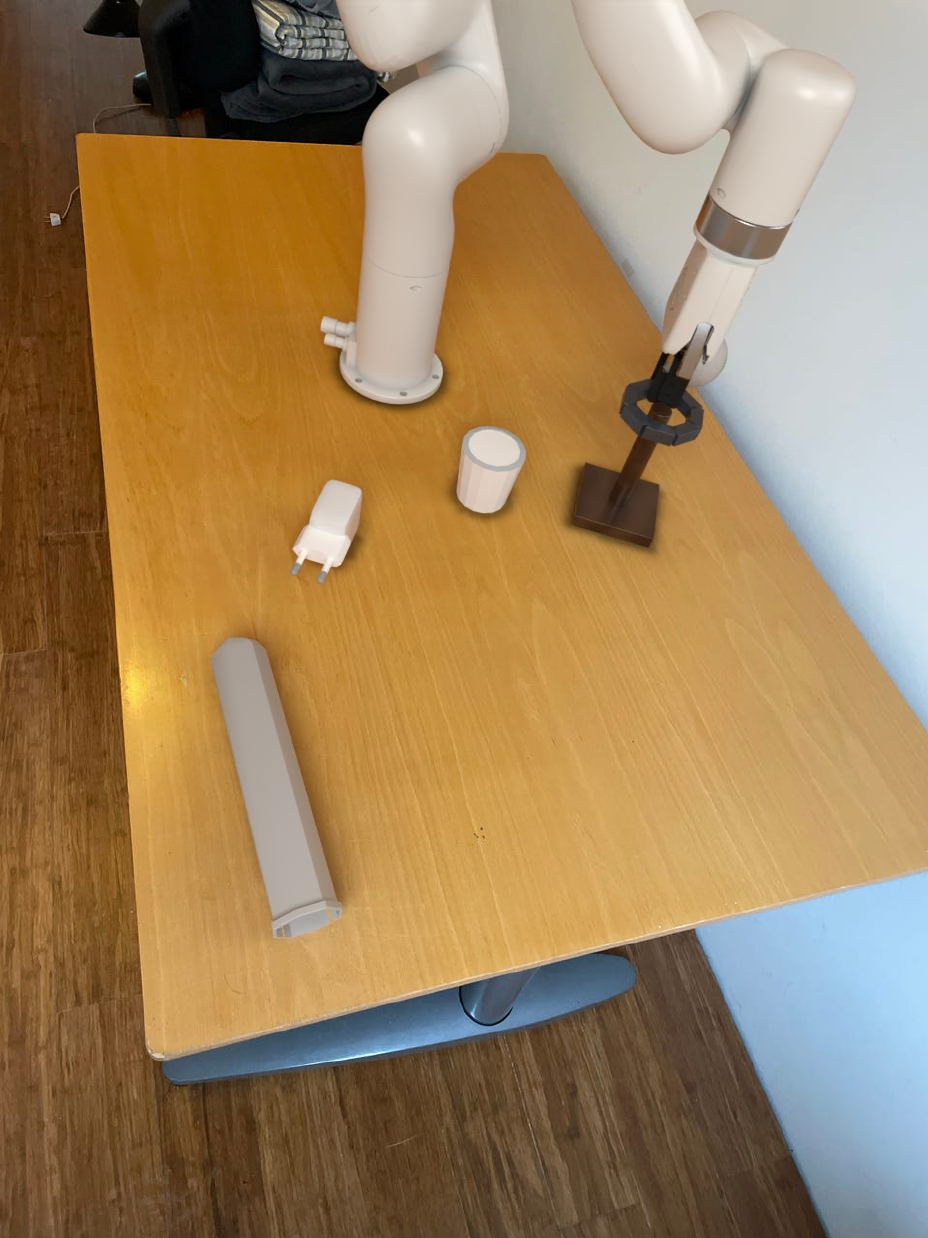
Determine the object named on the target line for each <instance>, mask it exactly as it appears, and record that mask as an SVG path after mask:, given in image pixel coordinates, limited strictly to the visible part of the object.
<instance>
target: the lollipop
mask: <svg viewBox="0 0 928 1238" xmlns="http://www.w3.org/2000/svg"><path fill="white" fill-rule="evenodd" d="M728 353H729V351H728V344H727V340H726V337H725V338H724V340H723V342H722V344H721V346H720V348H719V350H718V352H717V353H716V355H715V357H714V358H713V360H712V361H711V362H710V363H708V364H706V365H703V362H702V358H703V355H702V357H701V359H700V361H699V363H698V365H697V367H696V369H695V371H694V373H693V375H692V377H691V380H690V382H689V384H688V386H687V388H700V387H704V386H706V385H709V383H712V382H713V381H714V380H716V379H717V378H718V377H719V376H720V374H721V373H722V371H723V370H724V368H725V366H726V364H727V360H728V356H729V355H728ZM671 410H672V411H673V409H671Z"/></svg>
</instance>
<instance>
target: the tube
mask: <svg viewBox="0 0 928 1238" xmlns="http://www.w3.org/2000/svg"><path fill="white" fill-rule="evenodd" d="M210 660H211V661H210V663H211V670H212V675H213V678H214V684H215V687H216V691H217V695H218V700H219V704H220V708H221V712H222V716H223V720H224V721H223V722H224V725H225V730H226V733H227V737H228V741H229V745H230V750H231V755H232V758H233V763H234V767H235V771H236V775H237V779H238V783H239V788H240V791H241V796H242V800H243V804H244V808H245V812H246V817H247V821H248V825H249V830H250V833H251V837H252V843H253V846H254V851H255V854H256V859H257V863H258V866H259V870H260V875H261V879H262V883H263V887H264V892H265V896H266V900H267V904H268V909H269V913H270V917H271V922H270V928H271V930H270V931H271V937H272V939H281V940H283V939H285V940H292V939H294V938H295V939H296V938H299V937H301V936H304V935H307V934H310V933H313V932H316V931H319V930H321V929H323V928H325V927H327V926H328V925H330V924H332V923H334V922H336V921H338V920H339V919H341V918H342V916H343V910H344V907H343V904H342V901H339V900H338V898H337V895H336V891H335V888H334V885H333V880H332V876H331V874H330V870H329V867H328V866H329V865H328V863H327V859H326V856H325V853H324V848H323V845H322V842H321V838H320V835H319V832H318V827H317V825H316V824H317V823H316V821H315V817H314V814H313V810H312V807H311V803H310V800H309V796H308V792H307V789H306V786H305V782H304V779H303V775H302V772H301V768H300V764H299V761H298V758H297V753H296V750H295V746H294V744H293V740H292V736H291V733H290V729H289V726H288V723H287V718H286V715H285V712H284V709H283V704H282V702H281V697H280V694H279V691H278V687H277V684H276V680H275V677H274V674H273V670H272V667H271V662H270V658H269V655H268V652H267V649H266V648H265V647H264V646H263V645H262V644H261V643H260V642H259V641H258V640H256V639H253V638H249V637H227V638H226V639H225V640H224V641H223V642H222V643H221V644H220V645H218V647H217V648H216V649H215V650H214V652H213V654H212V655H211V657H210ZM326 909H328V910H330V912H329V914H330V913H331V917H332V918H331V919H333V920H334V921H333V922H330V920H329V917H328V914H327V910H326ZM335 920H336V921H335ZM282 926H283V929H284V934H285V937H284V938H282V937H283V933H282V928H281V927H282Z"/></svg>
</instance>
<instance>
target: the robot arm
mask: <svg viewBox="0 0 928 1238" xmlns="http://www.w3.org/2000/svg"><path fill="white" fill-rule="evenodd" d="M570 1H571V6H572V10H573V15H574V18H575V21H576V25H577V28H578V31H579V34H580V37H581V40H582V42H583V45H584V48H585V50H586V52H587V55H588V57H589V59H590V61H591V63H592V65H593V68H594V69H595V71H596V72H597V74H598V76H599V78H600V80H601V82H602V83H603V85H604V87H605V88H606V91H607V92H608V94H609V96H610V97H611V100H612V101H613V103H614V105H615V106H616V108H617V110H618V111H619V113H620V115H621V116H622V118H623V119H624V121H625V123H626V124H627V126H628V127H629V128H630V130H631V131H632V132H633V133H634V134H635V135H636V136H637V137H638V138H639V139H640V141H642V143H644V144H645V145H646V146H648V147H649V148H651V149H652V150H654V151H657V152H659V153H661V154H665V155H673V156H675V155H683V154H688V153H690V152H693V151H695V150H697V149H699V148H701V147H702V146H704V145H705V144H706V143H708V142H709V141H710V140H711V139H712V138H713V137H714V136H715V135H717V134H718V132H719V131H720V130H726V131H727V132H728V133H729V141H728V143H727V145H726V147H725V150H724V153H723V155H722V158H721V159H720V162H719V165H718V167H717V169H716V172H715V175H714V177H713V179H712V182H711V184H710V186H709V189H708V191H707V194H706V196H705V199H704V200H703V203H702V205H701V208H700V211H699V213H698V215H697V218H696V220H695V221H694V224H693V229H692V230H693V231H692V232H693V234H694V236H695V238H696V239H695V241H694V243H693V245H692V247H691V249H690V251H689V253H688V256H687V258H686V259H685V262H684V264H683V266H682V268H681V271H680V272H679V275H678V276H677V279H676V281H675V283H674V285H673V287H672V290H671V291H670V294H669V296H668V298H667V301H666V305H665V310H664V316H663V322H662V329H661V340H660V347H661V350H662V351H661V354H660V356H659V358H658V360H657V363H656V365H655V367H654V369H653V372H652V374H651V376H650V378H651V379H652V380H653V379H654V382H653V384H652V386H651V388H650V391H649V393H648V395H647V399H646V401H647V402H648V403H651V404H654V403H656V402H660V403H664V404H666V405H668V406H669V407H670V408H671V409H672V410H675V409H676V408H677V406H678V404H679V402H680V400H681V398H682V396H683V394H684V392H685V390H686V391H687V388H688V387H687V386H688V384H689V382H690V380H691V377H692V375H693V373H694V371H695V369H696V367H697V365H698V363H699V361H700V359H701V357H702V355H703V358H702V362H703V365H706V364H708V363H710V362H711V361H712V360H713V358H714V357H715V355H716V353H717V352H718V350H719V348H720V346H721V344H722V342H723V340H724V338H725V339H726V336H727V335H728V332H729V331H730V329H731V327H732V324H733V322H734V320H735V318H736V316H737V313H738V311H739V309H740V307H741V306H742V303H743V300H744V298H745V297H746V294H747V292H748V291H749V289H750V286H751V283H752V281H753V279H754V276H755V273H756V272H757V270H758V267H759V266H763V265H767V264H769V263H772V262H773V260H775V258H776V256H777V255H778V252H779V250H780V248H781V246H782V244H783V243H784V240H785V238H786V237H787V235H788V233H789V231H790V229H791V227H792V225H793V223H794V221H795V219H796V217H797V215H798V214H799V212H800V209H801V208H802V206H803V204H804V201H805V199H807V196H808V195H809V192H810V190H811V188H812V186H813V185H814V182H815V180H816V179H817V176H818V175H819V173H820V171H821V169H822V167H823V165H824V163H825V161H826V159H827V157H828V155H829V153H830V152H831V149H832V147H834V143H835V142H836V140H837V138H838V137H839V134H840V133H841V130H842V129H843V126H844V124H845V122H846V120H847V119H848V117H849V115H850V112H851V111H852V108H853V106H854V104H855V101H856V96H857V89H858V88H857V82H856V80H855V78H854V76H853V74H852V73H851V72H850V70H848V69H847V68H846V67H844V65H842V64H841V63H839V62H837V61H835V60H834V59H833V58H832V59H831V58H830V57H828V56H825V55H822V54H820V53H817V52H814V51H809V50H805V49H799V48H797V49H796V48H794V47H792V46H791V45H789V44H788V43H786V42H785V41H783V40H781V39H779V38H777V37H776V36H774V35H773V34H771V33H770V32H769V31H767V30H766V29H764V28H762V27H761V26H760V25H758V24H757V23H755V22H754V21H752V20H750V19H749V18H747V17H746V16H743V15H742V14H739V13H736V12H733V11H731V10H730V11H729V10H722V9H721V10H712V11H709V12H706V13H704V14H701V15H699V16H698V17H696V18H695V19H694V17H693V16H692V14H691V12H690V10H689V8H688V5H687V4H686V2H685V0H570ZM335 5H336V7H337V11H338V14H339V18H340V21H341V25H342V27H343V31H344V33H345V36H346V40H347V42H348V44H349V46H350V48H351V50H352V52H353V54H354V55H355V57H356V58H357V59H358V60H359V62H360V63H361V64H363V65H364V66H365V67H367V68H368V69H370V70H371V71H372V70H373V71H375V72H378V73H391V72H392V73H393V72H396V71H400V70H403V69H405V68H408V67H410V66H413V65H415V68H416V71H417V75H418V79H415V80H414V81H413V80H412V82H410V83H408V84H406V85H404V86H402V87H401V88H399V89H397V90H395V91H393V92H392V93H391V94H389V95H387V97H385V98H384V99H383V100H381V102H380V103H379V104H378V105H377V107H376V108H375V109H374V110H373V112H372V113H371V115H370V116H369V118H368V120H367V122H366V124H365V128H364V131H363V135H362V141H361V162H362V173H363V182H364V223H363V225H364V226H363V236H362V249H361V262H360V273H359V283H358V294H357V307H356V319H355V321H352V320H350V321H349V322H348V323H347V322H345V321H341V320H339V319H336V318H333V317H330V316H326V315H324V316H323V317H322V319H321V323H320V333H324V334H325V335H324V338H323V344H324V345H326V346H329V347H333V348H338V349H341V352H340V355H339V365H338V366H339V371H340V374H341V376H342V378H343V380H344V381H345V382H346V383H347V385H348V386H349V387H351V389H352V390H354V391H355V392H357V393H358V394H360V395H362V396H364V397H365V398H367V399H370V400H373V401H376V402H379V403H384V404H390V405H409V404H415V403H419V402H423V401H425V400H427V399H429V398H430V397H432V396H433V395H435V394H436V392H438V390H439V389H440V387H441V385H442V381H443V376H444V367H443V363H442V362H441V359H440V358H439V356H438V355H437V354H436V352H435V350H436V349H435V348H436V343H437V338H438V334H439V333H438V332H439V327H440V321H441V317H442V316H441V315H442V309H443V305H444V299H445V294H446V288H447V283H448V278H449V272H450V268H451V267H450V266H451V261H452V254H453V250H454V249H453V248H454V241H455V231H456V230H455V229H456V227H455V215H454V208H453V204H454V197H455V196H454V195H455V192H456V190H457V189H458V186H459V185H460V184H461V183H462V182H463V181H465V180H466V179H467V178H469V177H470V176H471V175H472V174H473V173H475V172H476V171H477V170H479V169H480V168H482V167H483V166H485V165H486V164H488V162H490V161H491V160H492V159H493V158H494V157H495V156H496V155H497V154H498V152H499V151H500V149H501V148H502V146H503V145H504V143H505V140H506V138H507V134H508V132H509V131H508V130H509V124H510V102H509V101H510V100H509V93H508V87H507V81H506V74H505V70H504V65H503V59H502V54H501V49H500V43H499V37H498V32H497V26H496V21H495V16H494V10H493V5H492V0H335Z"/></svg>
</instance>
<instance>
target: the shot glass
mask: <svg viewBox="0 0 928 1238" xmlns="http://www.w3.org/2000/svg"><path fill="white" fill-rule="evenodd" d="M460 451H461V452H460V458H459V459H460V460H459V468H458V473H457V474H458V475H457V482H456V490H455V491H456V492H455V493H456V495H457V499H458V501H459V502H460V503H461V504H462V505H463V506H464V507H465V508H467V509H469V510H471V511H473V512H476V513H481V514H492V513H496V512H497V511H499V510H501V509H502V508H503V507H504V505H506V502H507V500H508V497H509V496H510V494H511V491H512V489H513V487H514V485H515V483H516V480H517V479H518V476H519V474H520V472H521V470H522V468H523V465H524V463H525V462H526V457H527V449H526V448H525V445H524V443H523V441H522V440H521V439H519V438H518V437H517V435H515V434H514V433H512V432H511V431H509V430H507V429H505V428H502V427H498V426H493V425H485V426H478V427H475V428H473V429H469V431H468V432H467V433H466V434H464V436H463V438H462V443H461V450H460Z"/></svg>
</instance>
